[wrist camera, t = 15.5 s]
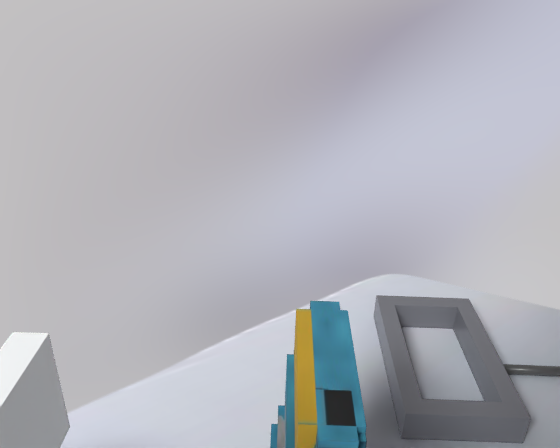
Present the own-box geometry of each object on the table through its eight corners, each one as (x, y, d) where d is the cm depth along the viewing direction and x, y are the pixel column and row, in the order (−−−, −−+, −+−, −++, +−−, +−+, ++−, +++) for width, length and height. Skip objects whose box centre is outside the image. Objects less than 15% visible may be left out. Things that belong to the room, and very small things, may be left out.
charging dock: (552, 321, 52) (559, 300, 51) (643, 447, 39) (655, 423, 38) (373, 314, 52) (376, 294, 51) (401, 438, 39) (405, 413, 38)
